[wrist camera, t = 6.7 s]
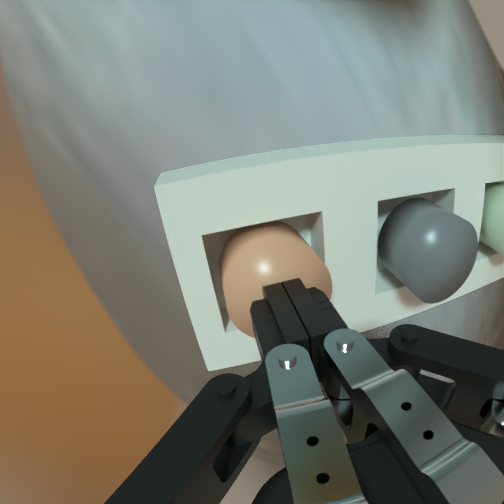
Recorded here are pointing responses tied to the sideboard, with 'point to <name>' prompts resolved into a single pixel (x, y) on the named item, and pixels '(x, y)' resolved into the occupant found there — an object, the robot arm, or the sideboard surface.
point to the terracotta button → (266, 267)
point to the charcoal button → (428, 248)
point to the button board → (323, 221)
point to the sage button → (493, 217)
